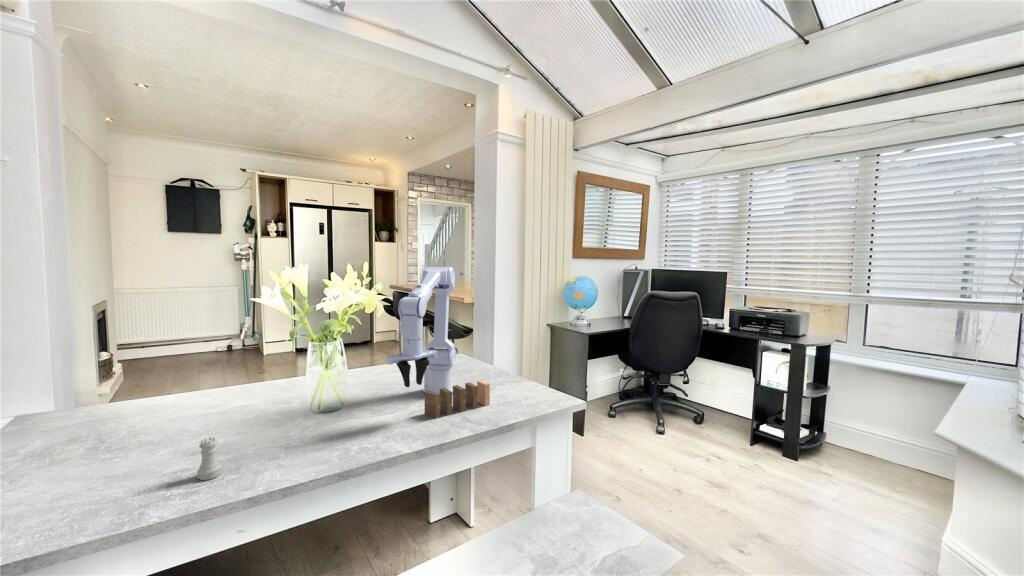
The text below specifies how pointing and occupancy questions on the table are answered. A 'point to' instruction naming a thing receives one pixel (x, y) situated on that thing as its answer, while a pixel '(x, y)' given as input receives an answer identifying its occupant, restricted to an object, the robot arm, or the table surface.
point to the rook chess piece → (209, 460)
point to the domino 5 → (483, 393)
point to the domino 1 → (432, 404)
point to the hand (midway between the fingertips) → (413, 385)
